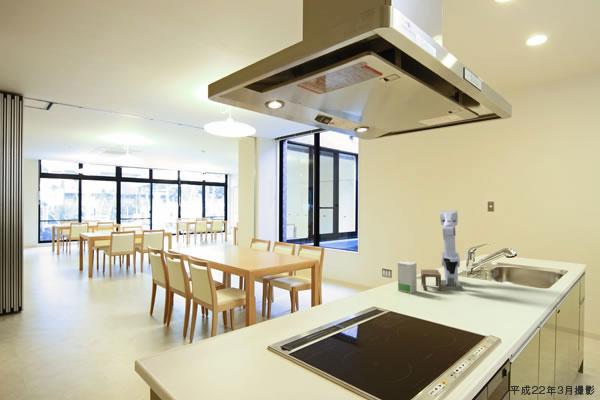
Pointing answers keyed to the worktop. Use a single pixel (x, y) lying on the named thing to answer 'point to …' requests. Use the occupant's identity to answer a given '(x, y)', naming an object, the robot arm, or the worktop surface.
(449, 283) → the grey plastic caddy
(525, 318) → the worktop surface
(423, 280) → the walnut shelf
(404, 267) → the skincare box
